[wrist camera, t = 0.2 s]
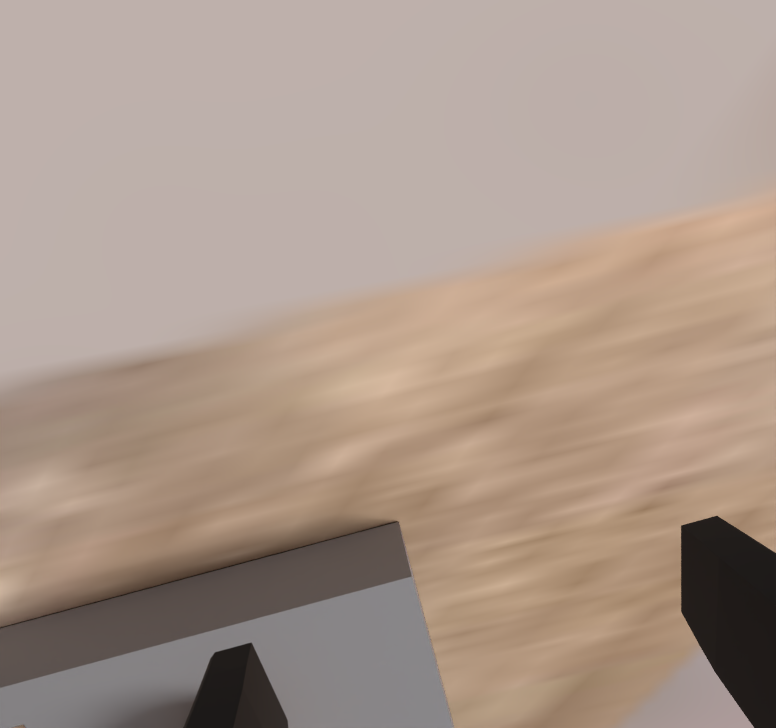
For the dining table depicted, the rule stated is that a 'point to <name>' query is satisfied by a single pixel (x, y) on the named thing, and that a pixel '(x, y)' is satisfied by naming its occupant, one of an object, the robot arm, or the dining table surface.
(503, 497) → the dining table surface
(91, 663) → the board
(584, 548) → the dining table surface
